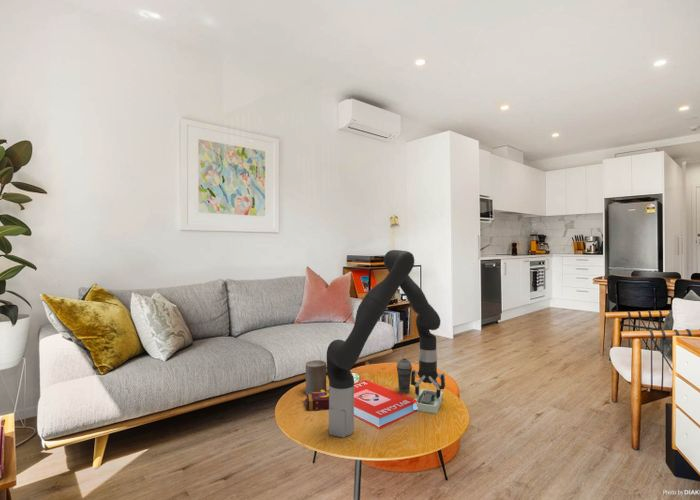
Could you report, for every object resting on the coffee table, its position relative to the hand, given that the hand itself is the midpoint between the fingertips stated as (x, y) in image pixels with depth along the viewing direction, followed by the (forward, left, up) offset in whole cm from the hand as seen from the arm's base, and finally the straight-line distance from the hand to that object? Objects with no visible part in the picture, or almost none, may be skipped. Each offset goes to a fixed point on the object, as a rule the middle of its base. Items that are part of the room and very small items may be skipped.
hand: (427, 396), depth 167 cm
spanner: (0, 0, -3) cm, 3 cm away
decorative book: (-17, +42, -4) cm, 46 cm away
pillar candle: (-6, +51, -4) cm, 51 cm away
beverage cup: (+10, +13, -4) cm, 17 cm away
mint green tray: (+1, 0, -4) cm, 4 cm away
